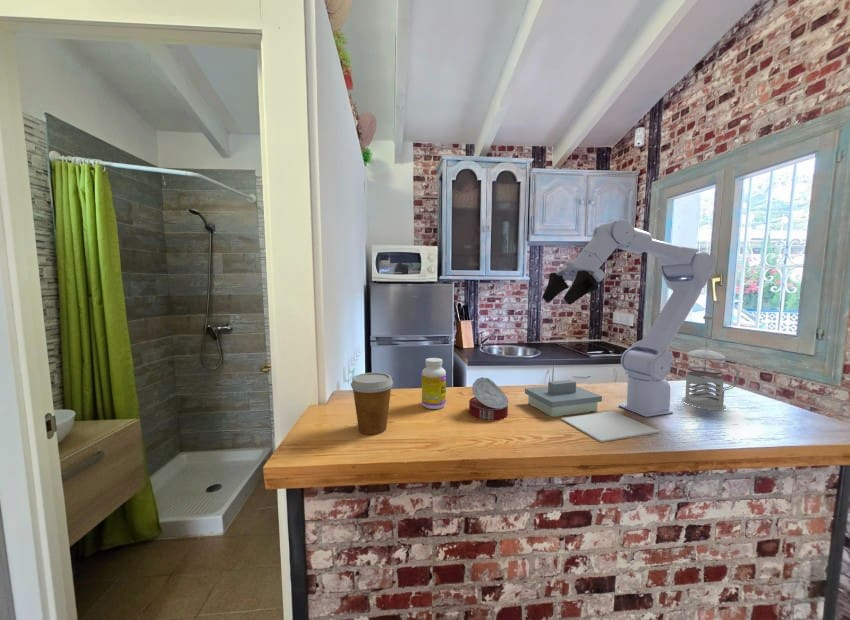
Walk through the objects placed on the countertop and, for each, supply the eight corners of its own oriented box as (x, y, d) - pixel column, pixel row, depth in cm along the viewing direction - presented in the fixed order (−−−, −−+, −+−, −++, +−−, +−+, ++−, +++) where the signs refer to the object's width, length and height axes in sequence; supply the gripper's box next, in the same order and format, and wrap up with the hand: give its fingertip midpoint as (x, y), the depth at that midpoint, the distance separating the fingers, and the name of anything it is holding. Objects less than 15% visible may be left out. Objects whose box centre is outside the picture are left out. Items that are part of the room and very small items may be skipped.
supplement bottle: (444, 410, 82) (444, 362, 81) (419, 409, 84) (419, 361, 83) (447, 402, 89) (447, 357, 88) (424, 400, 90) (424, 356, 89)
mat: (612, 412, 81) (612, 410, 81) (658, 432, 69) (658, 430, 69) (561, 419, 76) (561, 418, 76) (601, 442, 65) (601, 440, 65)
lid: (570, 388, 92) (570, 374, 92) (601, 401, 81) (602, 385, 81) (524, 393, 88) (525, 378, 88) (551, 407, 77) (552, 391, 77)
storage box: (569, 398, 92) (569, 386, 91) (597, 410, 82) (597, 397, 82) (528, 403, 88) (528, 391, 87) (552, 416, 78) (552, 403, 78)
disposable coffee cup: (400, 423, 74) (399, 373, 74) (381, 441, 65) (381, 385, 65) (364, 418, 78) (364, 370, 77) (342, 434, 69) (341, 381, 68)
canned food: (496, 423, 85) (513, 391, 85) (502, 437, 75) (521, 400, 75) (459, 403, 87) (476, 371, 86) (460, 413, 76) (479, 377, 76)
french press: (679, 395, 94) (683, 313, 92) (732, 403, 87) (737, 314, 86) (681, 405, 86) (686, 315, 84) (741, 415, 79) (746, 317, 78)
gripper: (559, 251, 82) (527, 288, 80) (605, 244, 68) (567, 289, 66) (575, 270, 84) (543, 307, 82) (622, 267, 70) (586, 312, 68)
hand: (555, 300), depth 74 cm, fingers open, 7 cm apart
